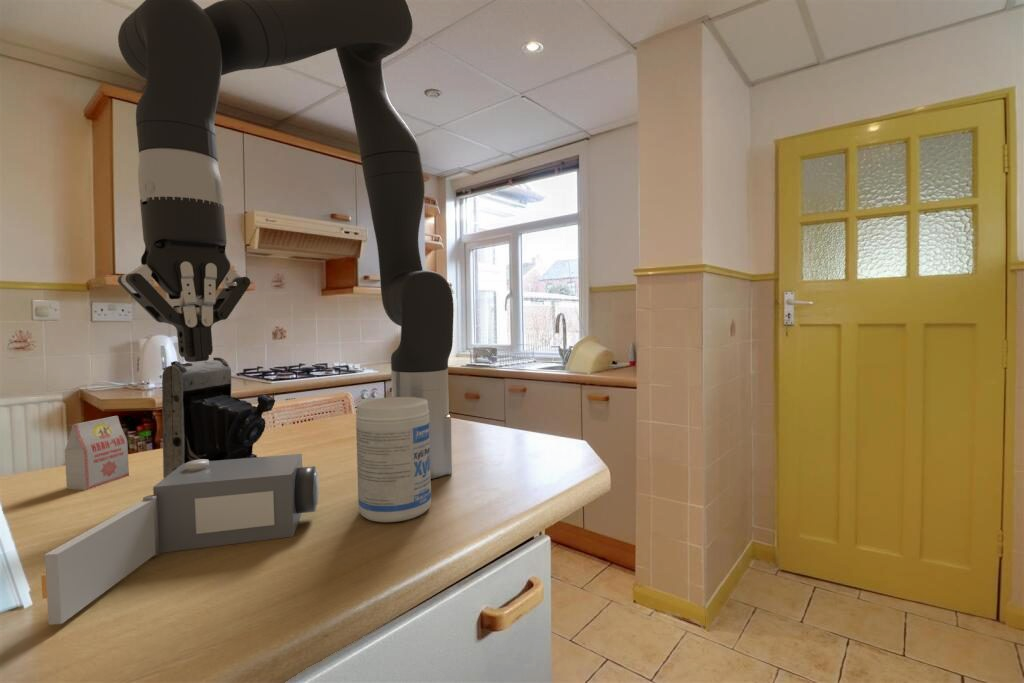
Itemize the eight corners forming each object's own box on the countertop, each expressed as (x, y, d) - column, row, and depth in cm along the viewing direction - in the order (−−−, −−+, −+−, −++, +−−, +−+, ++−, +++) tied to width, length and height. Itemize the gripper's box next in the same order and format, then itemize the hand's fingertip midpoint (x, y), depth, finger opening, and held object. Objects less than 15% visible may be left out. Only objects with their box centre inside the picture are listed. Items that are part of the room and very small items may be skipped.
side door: (63, 626, 41) (58, 551, 40) (38, 627, 41) (34, 552, 40) (162, 551, 54) (159, 494, 53) (143, 552, 53) (141, 495, 53)
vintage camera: (253, 510, 67) (254, 366, 66) (159, 498, 70) (159, 361, 69) (298, 487, 76) (299, 360, 75) (213, 477, 79) (214, 356, 78)
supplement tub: (433, 521, 62) (431, 406, 61) (355, 529, 60) (352, 410, 59) (429, 494, 71) (427, 394, 70) (361, 500, 69) (358, 397, 68)
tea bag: (66, 488, 75) (63, 424, 74) (110, 474, 81) (107, 415, 81) (86, 490, 74) (82, 425, 74) (129, 475, 81) (126, 416, 80)
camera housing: (321, 505, 67) (319, 446, 66) (313, 534, 58) (311, 466, 58) (186, 520, 62) (183, 457, 62) (155, 554, 54) (152, 480, 53)
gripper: (224, 214, 60) (234, 354, 61) (91, 195, 48) (108, 367, 50) (262, 206, 56) (272, 355, 58) (129, 184, 45) (146, 370, 46)
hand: (196, 360), depth 54 cm, fingers closed
